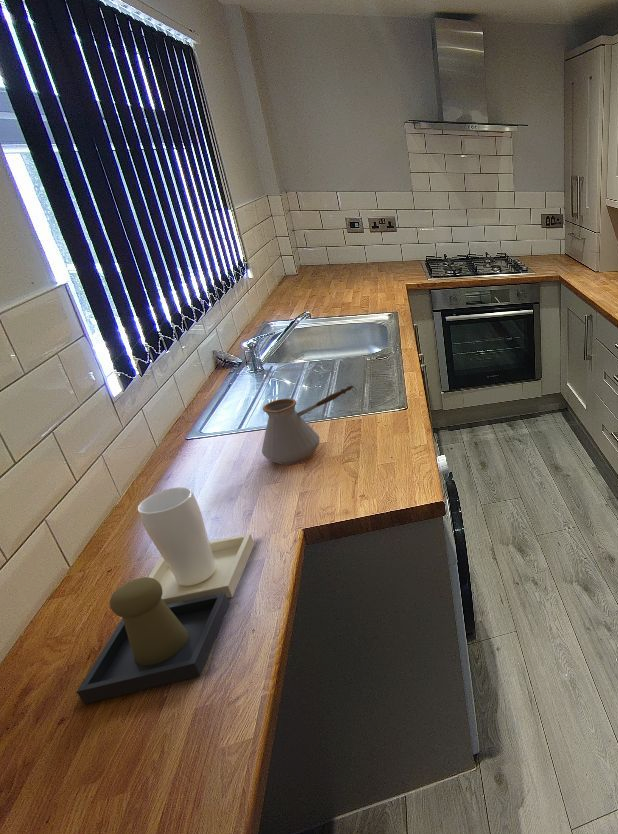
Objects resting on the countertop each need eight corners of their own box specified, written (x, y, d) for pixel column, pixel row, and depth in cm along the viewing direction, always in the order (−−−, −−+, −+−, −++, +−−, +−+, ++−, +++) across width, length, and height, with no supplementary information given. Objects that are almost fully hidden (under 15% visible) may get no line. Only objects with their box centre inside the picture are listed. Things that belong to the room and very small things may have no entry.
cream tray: (135, 618, 78) (129, 606, 77) (170, 560, 89) (165, 549, 88) (232, 597, 81) (227, 585, 80) (254, 544, 92) (250, 533, 91)
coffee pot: (260, 473, 112) (239, 411, 106) (270, 447, 122) (252, 389, 116) (367, 454, 119) (353, 395, 113) (369, 431, 129) (356, 375, 122)
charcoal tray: (84, 704, 66) (75, 691, 65) (131, 625, 77) (125, 613, 76) (200, 675, 69) (194, 663, 68) (229, 604, 80) (225, 592, 79)
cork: (166, 666, 70) (135, 605, 65) (122, 665, 70) (87, 605, 65) (198, 628, 75) (172, 569, 71) (157, 627, 75) (128, 569, 71)
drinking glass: (217, 554, 89) (188, 481, 83) (227, 575, 85) (196, 499, 78) (168, 575, 85) (133, 499, 79) (176, 598, 80) (139, 520, 74)
